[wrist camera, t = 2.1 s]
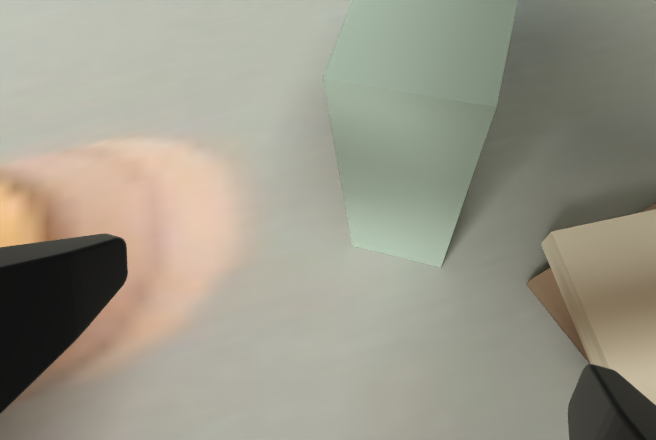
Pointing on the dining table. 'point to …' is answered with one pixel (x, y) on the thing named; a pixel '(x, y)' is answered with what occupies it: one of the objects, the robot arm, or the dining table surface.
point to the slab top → (611, 292)
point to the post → (413, 115)
